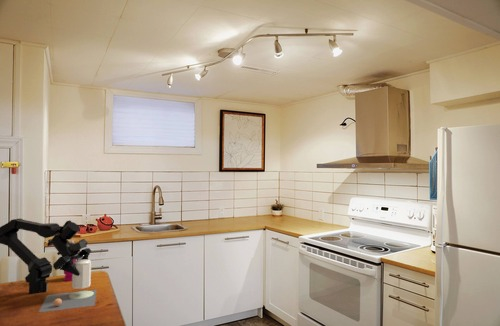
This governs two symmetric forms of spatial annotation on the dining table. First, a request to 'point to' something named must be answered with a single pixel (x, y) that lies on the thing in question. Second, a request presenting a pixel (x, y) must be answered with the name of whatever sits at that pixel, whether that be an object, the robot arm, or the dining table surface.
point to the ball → (57, 302)
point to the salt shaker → (82, 274)
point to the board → (69, 300)
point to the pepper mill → (68, 275)
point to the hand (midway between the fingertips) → (84, 272)
